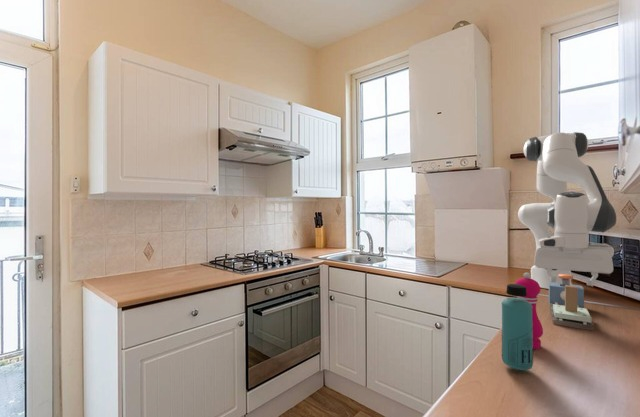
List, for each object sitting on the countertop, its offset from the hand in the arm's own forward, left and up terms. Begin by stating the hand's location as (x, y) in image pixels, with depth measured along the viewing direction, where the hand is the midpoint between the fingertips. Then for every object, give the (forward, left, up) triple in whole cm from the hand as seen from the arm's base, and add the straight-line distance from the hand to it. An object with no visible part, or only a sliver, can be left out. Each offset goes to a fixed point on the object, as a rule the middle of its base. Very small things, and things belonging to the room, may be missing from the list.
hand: (571, 284), depth 104 cm
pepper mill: (+27, -12, -13) cm, 32 cm away
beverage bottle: (+44, -14, -13) cm, 48 cm away
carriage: (0, 0, -10) cm, 10 cm away
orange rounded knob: (-18, 0, -6) cm, 19 cm away
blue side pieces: (-18, 0, -13) cm, 22 cm away
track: (-5, 0, -13) cm, 14 cm away
